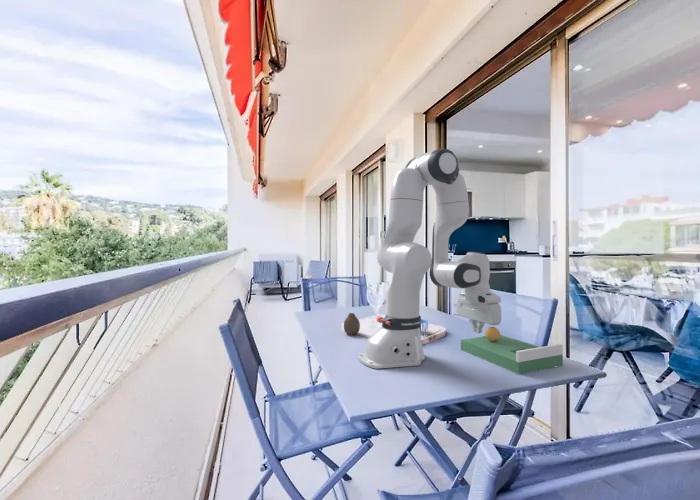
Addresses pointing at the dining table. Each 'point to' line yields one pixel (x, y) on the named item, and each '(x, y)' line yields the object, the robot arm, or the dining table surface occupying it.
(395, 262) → the robot arm
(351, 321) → the vase
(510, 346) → the green
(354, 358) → the dining table surface
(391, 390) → the dining table surface
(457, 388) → the dining table surface
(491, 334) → the ball
